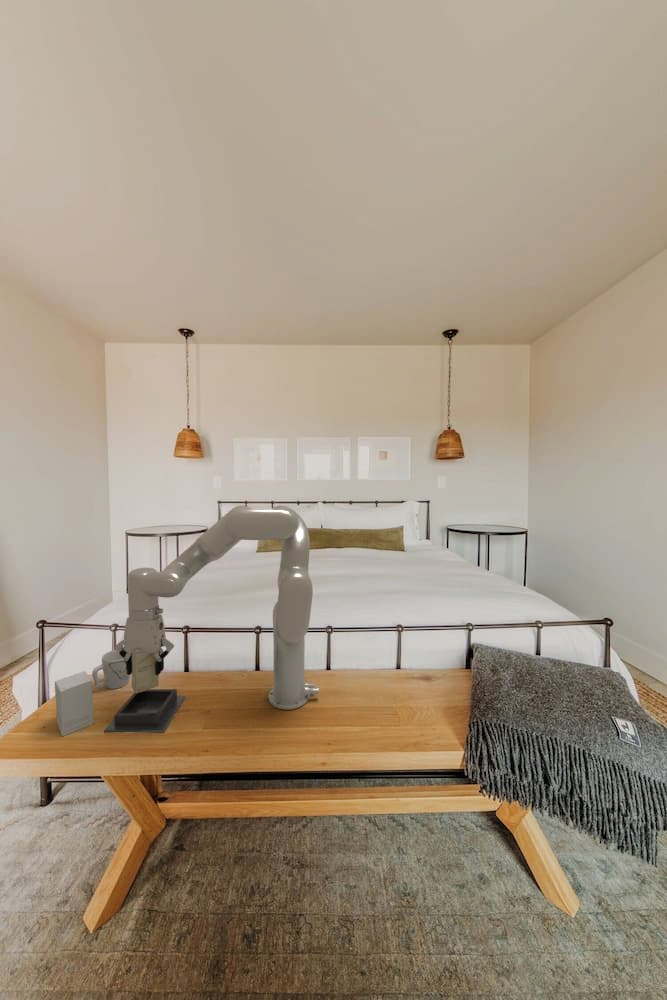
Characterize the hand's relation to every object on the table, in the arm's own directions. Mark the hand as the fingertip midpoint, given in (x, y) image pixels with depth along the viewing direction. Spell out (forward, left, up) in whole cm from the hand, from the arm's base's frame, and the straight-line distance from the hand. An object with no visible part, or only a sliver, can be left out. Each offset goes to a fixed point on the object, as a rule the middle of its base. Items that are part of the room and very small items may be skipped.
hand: (145, 672), depth 105 cm
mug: (+18, -14, -13) cm, 26 cm away
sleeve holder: (0, 0, -13) cm, 13 cm away
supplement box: (+18, +4, -13) cm, 22 cm away
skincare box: (0, 0, -5) cm, 5 cm away
